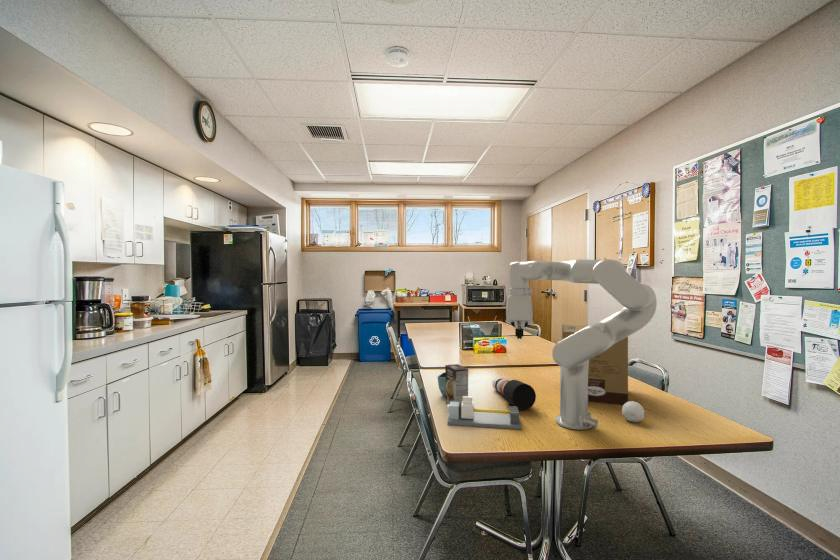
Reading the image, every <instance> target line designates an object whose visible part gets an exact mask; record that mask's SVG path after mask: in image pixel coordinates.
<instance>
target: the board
mask: <svg viewBox="0 0 840 560" xmlns="http://www.w3.org/2000/svg"><path fill="white" fill-rule="evenodd" d="M508 410H510V414H504V413H487V412H474V417H473V419H468V418H461V415H459V419H449V417H448V419H447V425H450V426H462V427H463V426H465V427H478V428H493V429H494V428H495V429H511V430H522V424H521V420H520V412H519V408H518V407H516V406H509V409H508Z"/></svg>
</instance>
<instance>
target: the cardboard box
mask: <svg viewBox="0 0 840 560" xmlns="http://www.w3.org/2000/svg"><path fill="white" fill-rule="evenodd" d="M589 325H590V324H589ZM589 325H588V324H586V325H585V324H584V325H583V324H566V323H565V324H562V325H561V340H563V339H565V338H567V337H569V336H570V335H572V334H574V333H576V332H578V331H579V330H581V329H583V328H585V327H587V326H589ZM626 402H629V336H628V337H626V338H624V339H622V340H620V341H618V342H617V343H615V344H613V345H612V346H611V347H610V348H608V349H607V350H606V351H604V352H602V353H601V354H599V355H597V356H595V357H593V358H591V359H589V367H588V403H597V404H608V405H616V406H617V405H618V406H623V405H624V404H625V403H626Z"/></svg>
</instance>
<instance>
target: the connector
mask: <svg viewBox="0 0 840 560" xmlns="http://www.w3.org/2000/svg"><path fill="white" fill-rule="evenodd" d="M446 409H447V410H446V413H447V414H448V418H449V419H459V415H461V404H460V403H459V402H452V401H450V404H447V405H446Z"/></svg>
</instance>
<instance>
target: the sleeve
mask: <svg viewBox="0 0 840 560" xmlns="http://www.w3.org/2000/svg"><path fill="white" fill-rule="evenodd" d="M474 406H475V403H474V400H473V396H469V395H468V396H463V401H462V404H461V418H468V419H473V417H474V413H475V412H473V408H475V407H474Z"/></svg>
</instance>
